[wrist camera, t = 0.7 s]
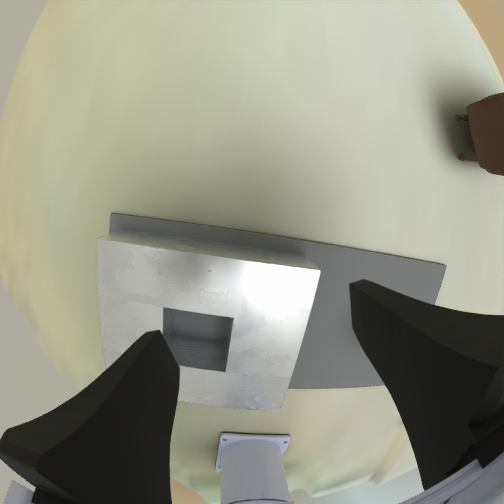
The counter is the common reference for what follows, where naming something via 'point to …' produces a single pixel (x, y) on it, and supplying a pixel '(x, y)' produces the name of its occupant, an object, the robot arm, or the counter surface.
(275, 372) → the hole block
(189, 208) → the counter surface
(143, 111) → the counter surface
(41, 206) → the counter surface
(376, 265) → the rubber mat
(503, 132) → the alarm clock
